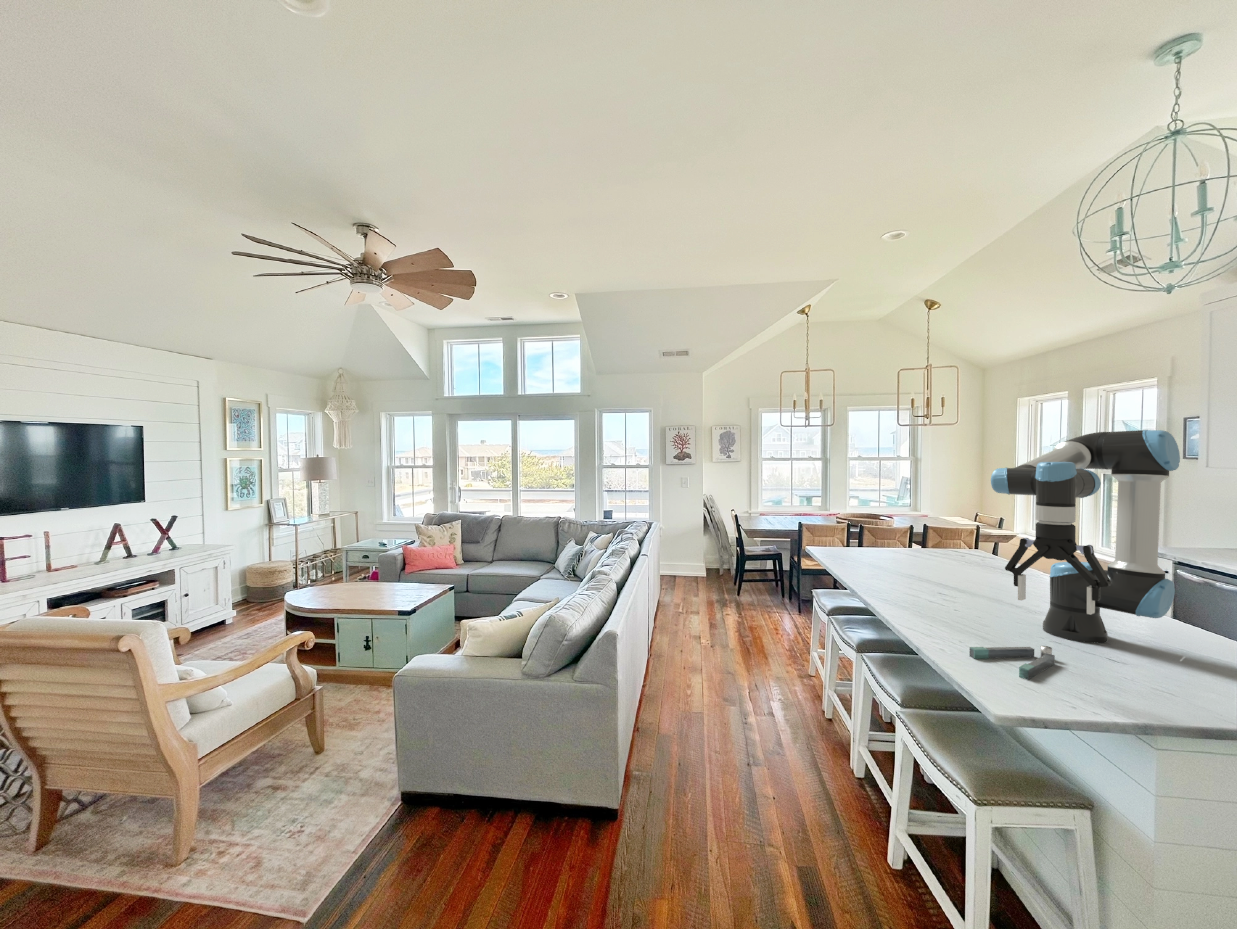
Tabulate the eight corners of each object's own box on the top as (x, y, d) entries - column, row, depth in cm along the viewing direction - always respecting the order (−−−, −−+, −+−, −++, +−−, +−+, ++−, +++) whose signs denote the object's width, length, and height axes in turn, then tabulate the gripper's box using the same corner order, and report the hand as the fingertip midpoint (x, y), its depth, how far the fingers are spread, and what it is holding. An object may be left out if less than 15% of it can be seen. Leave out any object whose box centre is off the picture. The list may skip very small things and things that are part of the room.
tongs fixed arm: (1042, 654, 139) (1042, 643, 139) (1054, 660, 135) (1054, 649, 135) (969, 656, 139) (969, 645, 139) (979, 661, 135) (979, 650, 135)
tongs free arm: (1045, 661, 135) (1045, 652, 134) (1054, 664, 133) (1054, 654, 133) (1019, 676, 125) (1019, 666, 125) (1028, 679, 124) (1028, 669, 124)
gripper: (1129, 527, 114) (1129, 617, 114) (1003, 516, 135) (1002, 592, 135) (1119, 529, 110) (1118, 622, 110) (990, 518, 131) (990, 596, 132)
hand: (1054, 606), depth 123 cm, fingers open, 13 cm apart
